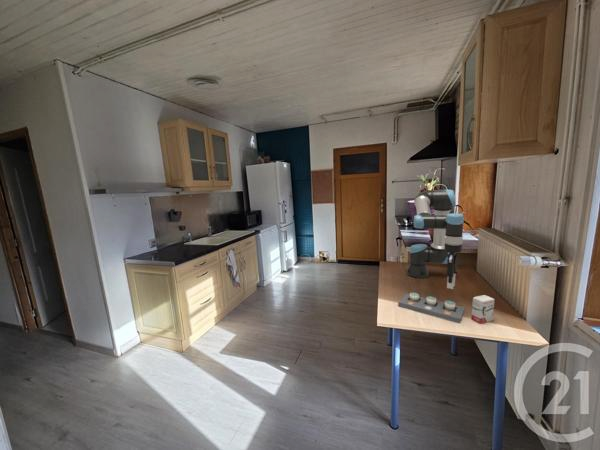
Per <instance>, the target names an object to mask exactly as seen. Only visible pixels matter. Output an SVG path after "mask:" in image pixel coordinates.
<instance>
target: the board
mask: <svg viewBox="0 0 600 450" xmlns="http://www.w3.org/2000/svg"><path fill="white" fill-rule="evenodd" d="M426 300H427V297H423V296H419V301H411V300H410V293H405V294H404V295H403V296H402V298H401V299H400V300H399V301H398V302H397V304H398V307H399V308H403V309H407V310H409V311H414V312H418V313H421V314H424V315H429V316H432V317H435V318H439V319H443V320H445V321H449V322H453V323H456V324H461V322H462V319H463V317H464V313H465V307H464V306H460V305H456V304H455V310H454V311H450V310H447V309H445V301H440V300H436V305H435V306H431V305H428V304H427V303H426Z"/></svg>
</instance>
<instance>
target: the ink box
mask: <svg viewBox="0 0 600 450" xmlns="http://www.w3.org/2000/svg"><path fill="white" fill-rule="evenodd" d="M494 307H495V298H493V297H490V296H488V295H486V294H483V295H477V296H474V297H472V306H471V320H473V321H474V322H476V323H479V324H485V323H488V322H493V319H494Z"/></svg>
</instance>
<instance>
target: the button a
mask: <svg viewBox="0 0 600 450" xmlns="http://www.w3.org/2000/svg"><path fill="white" fill-rule="evenodd" d="M409 294H410V301H414V302H417V301H419V297H420V294H419V293H418V292H410V293H409Z"/></svg>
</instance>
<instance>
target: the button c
mask: <svg viewBox="0 0 600 450" xmlns="http://www.w3.org/2000/svg"><path fill="white" fill-rule="evenodd" d="M444 303H445V309H446V310H449V311H453V312H455V311H454V310H455V305H456V302H455V301H452V300H445V301H444Z"/></svg>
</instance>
